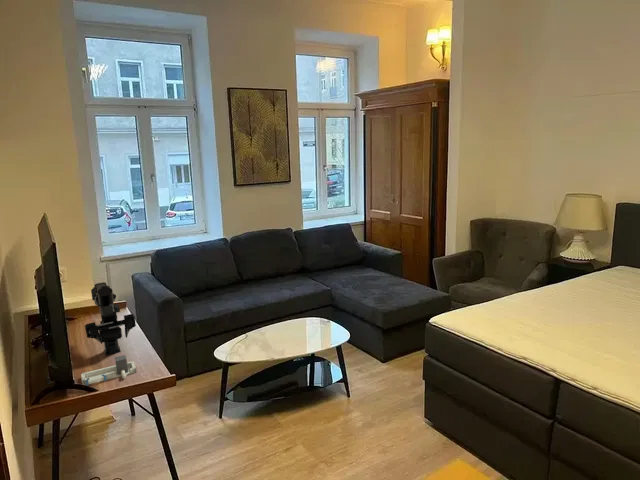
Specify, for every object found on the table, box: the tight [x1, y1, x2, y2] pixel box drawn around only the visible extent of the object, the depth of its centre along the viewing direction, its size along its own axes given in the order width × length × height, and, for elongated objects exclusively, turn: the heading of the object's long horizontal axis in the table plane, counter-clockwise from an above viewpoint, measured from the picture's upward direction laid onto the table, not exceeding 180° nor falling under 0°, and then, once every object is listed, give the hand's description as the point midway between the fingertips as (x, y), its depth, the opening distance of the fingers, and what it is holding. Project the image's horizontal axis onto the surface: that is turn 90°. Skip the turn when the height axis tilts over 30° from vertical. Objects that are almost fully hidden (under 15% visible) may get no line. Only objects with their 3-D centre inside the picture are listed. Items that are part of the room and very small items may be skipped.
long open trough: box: [80, 360, 137, 386], centre depth 188 cm, size 8×20×3 cm, turn 118°
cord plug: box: [114, 354, 128, 379], centre depth 188 cm, size 10×4×6 cm, turn 28°
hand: (114, 339), depth 185 cm, fingers open, 9 cm apart
